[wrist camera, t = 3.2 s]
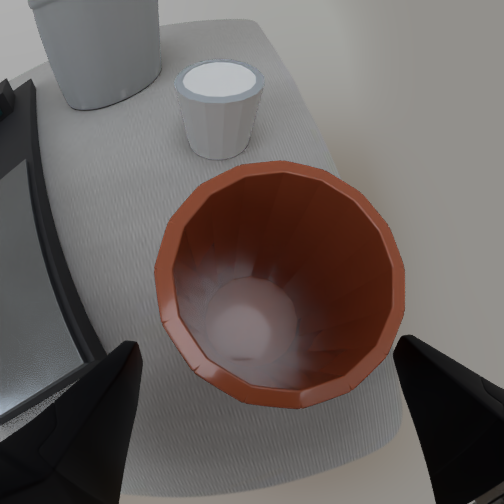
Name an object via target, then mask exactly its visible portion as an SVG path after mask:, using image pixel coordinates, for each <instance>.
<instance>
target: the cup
mask: <svg viewBox="0 0 504 504" xmlns="http://www.w3.org/2000/svg"><path fill="white" fill-rule="evenodd" d="M154 269H155V270H154V277H155V285H156V292H157V299H158V306H159V313H160V319H161V322H162V323H163V324H162V325H163V327H164V329H165V330H166V332H167V334H168V335H169V337H170V338H171V340H172V342H173V343H174V345H175V346H176V348H177V349H178V351H179V352H180V354H181V355H182V357H183V358H184V360H185V361H186V363H187V364H188V366H189V367H190V369H191V370H192V371H194V373H195V374H196V375H198V376H199V377H201V378H202V379H204V380H205V381H207V382H208V383H210V384H212V385H213V386H215V387H216V388H218V389H220V390H221V391H223V392H225V393H226V394H228V395H230V396H231V397H233V398H235V399H237V400H238V401H240V402H242V403H246V404H251V405H259V406H268V407H277V408H288V409H300V408H301V409H303V408H307V407H310V406H313V405H316V404H319V403H322V402H325V401H327V400H330V399H333V398H336V397H338V396H341V395H344V394H346V393H349V392H350V391H351V390H353V389H354V388H355V387H357V386H358V385H359V384H360V383H361V382H362V381H363V380H364V379H365V378H366V377H367V376H368V375H369V374H370V373H371V372H372V371H373V370H374V369H375V368H376V367H377V366H378V365H379V364H380V363H381V362H382V361H383V360H384V359H385V358H386V356H387V355H388V353H389V351H390V349H391V346H392V344H393V341H394V339H395V337H396V334H397V331H398V329H399V326H400V324H401V321H402V319H403V316H404V311H405V269H404V264H403V261H402V259H401V256H400V253H399V250H398V248H397V245H396V242H395V240H394V237H393V235H392V232H391V230H390V228H389V227H388V224H387V223H386V222H385V220H384V219H383V218H382V217H381V215H380V214H379V213H378V212H377V211H376V210H375V208H374V207H373V206H372V205H371V203H370V202H369V201H368V200H367V199H366V198H365V196H364V195H363V194H361V193H360V192H359V191H358V190H356V189H355V188H353V187H351V186H350V185H348V184H347V183H345V182H344V181H342V180H340V179H339V178H337V177H335V176H334V175H332V174H330V173H329V172H327V171H324V170H323V169H319V168H315V167H311V166H306V165H302V164H298V163H293V162H289V161H281V160H280V161H269V162H260V163H251V164H242V165H240V166H236V167H234V168H232V169H230V170H228V171H226V172H224V173H222V174H220V175H218V176H216V177H214V178H212V179H210V180H208V181H206V182H204V183H202V184H201V185H200V186H198V187H197V188H196V189H195V190H194V192H193V193H192V194H191V195H190V196H189V197H188V198H187V200H186V201H185V202H184V203H183V204H182V205H181V207H180V208H179V209H178V210H177V211H176V212H175V214H174V215H173V216H172V217H171V218H170V220H169V222H168V224H167V227H166V230H165V233H164V236H163V239H162V243H161V246H160V249H159V253H158V256H157V260H156V263H155V267H154Z"/></svg>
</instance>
